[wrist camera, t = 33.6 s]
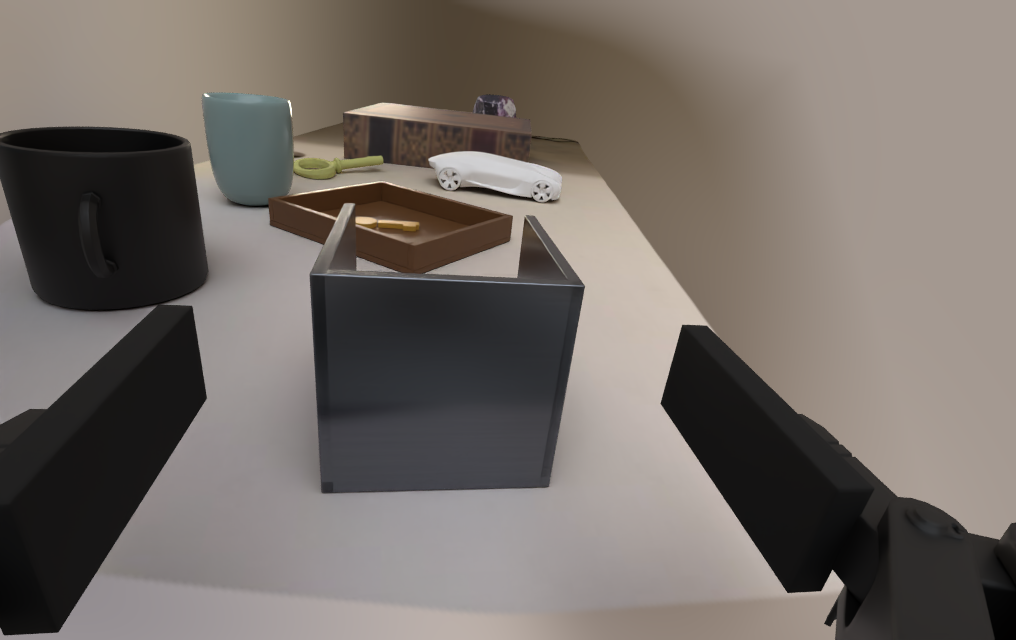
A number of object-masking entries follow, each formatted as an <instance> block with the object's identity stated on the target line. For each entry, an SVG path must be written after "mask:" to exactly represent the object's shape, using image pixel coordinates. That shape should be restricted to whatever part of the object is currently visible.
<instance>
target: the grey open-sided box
mask: <svg viewBox="0 0 1016 640" xmlns="http://www.w3.org/2000/svg"><path fill="white" fill-rule="evenodd" d="M584 289H585V286H584V284H583V283H582V281H581V280H580V279H579V277H578V276H577V274H576V273H575V272H574V270H573V269H572V268H571V266H570V265H569V263H568V262H567V261H566V259H565V258H564V256H563V255H562V254H561V252H560V251H559V249H558V248H557V247H556V245H555V244H554V243H553V241H552V240H551V238H550V237H549V236H548V234H547V233H546V231H545V230H544V229H543V227H542V226H541V224H540V223H539V222H538V220H537V219H536V218H535V216H529V215H526V216H525V219H524V228H523V236H522V244H521V252H520V260H519V268H518V277H517V278H505V277H483V276H461V275H439V274H417V273H395V272H373V271H356V216H355V204H352V203H344V205H343V207H342V209H341V211H340V213H339V215H338V217H337V219H336V222H335V224H334V226H333V228H332V230H331V232H330V234H329V236H328V238H327V240H326V242H325V244H324V246H323V248H322V250H321V252H320V254H319V256H318V258H317V260H316V262H315V264H314V267H313V269H312V271H311V273H310V290H311V309H312V327H313V345H314V363H315V382H316V400H317V418H318V437H319V455H320V473H321V491H322V493H328V492H364V491H403V490H441V489H479V488H517V487H548V486H549V482H550V477H551V471H552V465H553V460H554V454H555V449H556V443H557V437H558V432H559V426H560V421H561V415H562V410H563V404H564V399H565V393H566V388H567V382H568V377H569V371H570V366H571V360H572V355H573V349H574V344H575V338H576V333H577V327H578V322H579V316H580V311H581V305H582V300H583V294H584Z"/></svg>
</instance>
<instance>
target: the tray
mask: <svg viewBox="0 0 1016 640" xmlns="http://www.w3.org/2000/svg"><path fill="white" fill-rule="evenodd" d="M268 203H269V215H270V225H272V226H275V227H277V228H280V229H283V230H286V231H289V232H291V233H294V234H297V235H300V236H302V237H305V238H308V239H311V240H314V241H316V242H319V243H322V244H325V242H326V240H327V238H328V236H329V234H330V232H331V230H332V228H333V226H334V224H335V222H336V219H337V217H338V215H339V213H340V211H341V209H342V207H343V205H344V203H352V204H355V216H356V217H369V218H373V219H376V220H377V227H375V228H372V229H370V228H367V227H364V226H361V225H357V224H356V256H358V257H361V258H364V259H366V260H369V261H372V262H375V263H377V264H380V265H383V266H386V267H389V268H391V269H394V270H397V271H400V272H402V273H417V274H421V273H424V272H427V271H430V270H432V269H435V268H438V267H440V266H443V265H446V264H448V263H451V262H454V261H457V260H459V259H462V258H465V257H467V256H470V255H473V254H475V253H478V252H481V251H484V250H486V249H489V248H492V247H494V246H497V245H500V244H502V243H505V242H508V241H510V237H511V229H512V220H513V216H511V215H507V214H503V213H500V212H496V211H492V210H488V209H485V208H481V207H477V206H473V205H470V204H466V203H462V202H458V201H455V200H451V199H447V198H443V197H440V196H436V195H432V194H428V193H425V192H421V191H417V190H413V189H410V188H406V187H402V186H398V185H394V184H391V183H387V182H383V181H378V182H372V183H365V184H358V185H352V186H345V187H338V188H332V189H325V190H319V191H312V192H305V193H299V194H292V195H285V196H279V197H272V198H268ZM378 220H390V221H406V222H419V230H416V231H415V232H413V231H403V229H394V228H378Z"/></svg>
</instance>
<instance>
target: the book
mask: <svg viewBox="0 0 1016 640" xmlns="http://www.w3.org/2000/svg"><path fill="white" fill-rule="evenodd" d="M343 124H344V158H347V159H356V158H365V157H368V156H370V157H371V156H382V157H383V163H391V164H400V165H409V166H418V167H427V168H433V167H431V166H430V164H429V161H428V159H429V158H431V157H434V156H437V155H441V154H446V153H451V152H462V151H475V152H484V153H489V154H494V155H498V156H502V157H506V158H511V159H515V160H519V161H523V162H527V163H528V160H529V152H530V144H531V135H532V133H531V123H530V119H521V118H512V117H504V116H495V115H486V114H478V113H469V112H460V111H452V110H443V109H434V108H425V107H417V106H408V105H399V104H391V103H379V104H375V105H371V106H367V107H363V108H359V109H356V110H352V111H348V112H344V113H343Z"/></svg>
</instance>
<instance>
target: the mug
mask: <svg viewBox="0 0 1016 640" xmlns="http://www.w3.org/2000/svg"><path fill="white" fill-rule="evenodd" d="M0 180H1V183H2V187H3V190H4V193H5V197H6V200H7V204H8V207H9V210H10V214H11V217H12V221H13V224H14V227H15V231H16V234H17V238H18V241H19V244H20V248H21V251H22V255H23V258H24V261H25V265H26V268H27V272H28V275H29V278H30V282H31V285H32V289H33V290H34V292H35V293H36V294H37V295H38V296H39V297H40V298H41V299H43V300H44V301H46V302H49V303H51V304H54V305H58V306H62V307H68V308H75V309H94V310H102V309H121V308H130V307H138V306H144V305H149V304H154V303H159V302H163V301H167V300H170V299H173V298H176V297H179V296H182V295H184V294H187V293H189V292H191V291H193V290H194V289H196V288H198V287H199V286H200V285H202V284H203V282H204V281H205V280H206V277H207V274H208V264H207V257H206V250H205V243H204V236H203V229H202V222H201V214H200V207H199V200H198V193H197V186H196V179H195V172H194V164H193V158H192V150H191V145H190V142H189V141H188V140H187V139H185V138H183V137H180V136H176V135H172V134H167V133H163V132H156V131H149V130H140V129H128V128H112V127H46V128H30V129H21V130H14V131H8V132H3V133H0Z"/></svg>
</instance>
